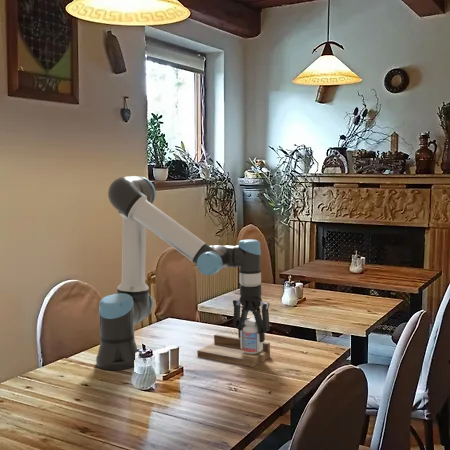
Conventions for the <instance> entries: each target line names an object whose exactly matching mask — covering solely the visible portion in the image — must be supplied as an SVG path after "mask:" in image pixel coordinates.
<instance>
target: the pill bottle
mask: <svg viewBox="0 0 450 450" xmlns="http://www.w3.org/2000/svg"><path fill="white" fill-rule="evenodd" d="M258 332H259V331H258V327H257V324H256V320H255V318H246V320H245V326H244V328H243V351H244V352H245V353H247V354H256V353H259V352H257V333H258Z"/></svg>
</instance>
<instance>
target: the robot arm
mask: <svg viewBox="0 0 450 450" xmlns="http://www.w3.org/2000/svg"><path fill="white" fill-rule="evenodd" d="M156 193H157V192H156V188H155V186H154V184H153V183H152V182H151V180H150V179H148V178H146V177H144V176H138V175H131V176H121V177H118V178H116V179H114V180H113V181H112V182H111V183H110V185H109V188H108V192H107V195H108V196H107V198H108V201H109V203H110V204H111V206H113V208H114V209H115V210H117V211H118V215H119V216H120V217H121V218H122V229H121V230H122V231H121V232H122V235H121V239H122V241H121V282H120V283H119V284H118V286H117V287H116V288H117V289H116V293H112V294H109V295H105V296H103V297H102V298H101V299H100V300H99V305H98V307H99V308H98V315H99V316H98V321H99V335H100V336H99V337H100V343H99V347H98V351H97V356H96V358H95V361H96V362H95V363H96V366H97V367H96V368H99V369H102V370H105V371H106V370H107V371H119V370H126V369H130V368H133V366H134V360H135V352H136V351H137V350H139V349H138V346H137V343H136V340H135V326H136V325H138V324H139V323H141V322H143V321H145V320H146V319H147V318H148V317H149V316H150V314H151V313H152V310H153V306H154V301H153V297H152V295H150V287H149V285H148V284H147V283H146V259H147V258H146V257H147V256H146V255H147V229H148V230H149V231H151V232H152V233H153V234H154V235H155V236H157V237H158V238H160V239H161V240H162V241H164V242H166V244H168V245H169V246H170V247H171V248H174V250H176V251H178V253H180V254H181V255H183V256H184V257H186V258H187V259H188V260H189V261H191V262H192V263H193V264H195V265H196V267H197V270H198V271H199V273H201V274H202V275H205V276H213V275H216V274H218V272H221V270H223V269H224V268H239V270H238V271H239V274H238V275H239V284H240V285H239V296H240V297H239V298H236V299H233V300H232V306H233V319H232V321H233V324H232V325H233V328H234V329H235V328H236V329H237V331H238V337H237V338H239V339H240V346H241V349H243V328H244V327H245V326H246V325H245V320H246V319H248V314H249V312H252V315H253V317H254V319H255V320H256V324H257V327H258V331H259V332H258V333H257V352H260V351H262V350H263V342H266V341H265V340H266V338H265V337H266V336H265V333H266V332H269V331H270V330H271V328H270V314H269V308H270V303H269V302H264V301H263V299H262V284H261V283H262V251H261V242H260V241H259V240H257V239H252V238H251V239H241V240H239V242H238V245H219V244H214V245H208V244H207V243H206V242H205V241H203V240H202V239H200V238H199V237H198V236H196V235H195V234H194V233H193V232H191V231H190V230H189V229H187V228H186V227H185V226H183V225H181V224H180V223H178V222H177V221H176V220H175V219H174V218H172V217H171V216H170V215H167V213H165V212H164V211H162V210H161V209H160V208H158V207H157V206H156V205H154V202H155V199H156V197H157V196H156V195H157V194H156ZM241 306H242V307H241ZM134 367H135V366H134Z"/></svg>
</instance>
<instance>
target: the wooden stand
mask: <svg viewBox="0 0 450 450" xmlns="http://www.w3.org/2000/svg"><path fill="white" fill-rule="evenodd" d="M196 352H197V357H200V358H204V359H205V358H206V359H210V360H211V359H212V360H216V361H219V362H220V361H221V362H224V363H225V362H226V363H231V364H236V365H240V366H241V365H242V366H247V367H255V366H257V365H259V364H260V363H262V362H264V361H265V359H266V360H267V359H269V358H270V357H271V343H270V342H266V341H264V342H263V350H262V351H260V352H259V353H256V354H247V353H245V352H244V351H243V349H241V346H240V339H239V337H234V336H231V335H230V336H229V335H223V334H219V333H218V334H214V335H213V343H212V344H209V345H207V346H204V347H203V348H200V349H198V350H197V351H196Z"/></svg>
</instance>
